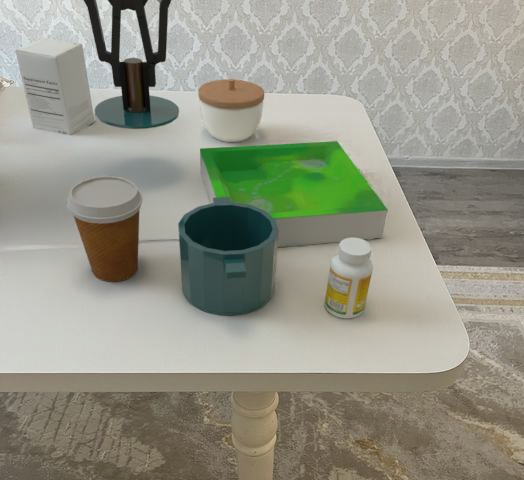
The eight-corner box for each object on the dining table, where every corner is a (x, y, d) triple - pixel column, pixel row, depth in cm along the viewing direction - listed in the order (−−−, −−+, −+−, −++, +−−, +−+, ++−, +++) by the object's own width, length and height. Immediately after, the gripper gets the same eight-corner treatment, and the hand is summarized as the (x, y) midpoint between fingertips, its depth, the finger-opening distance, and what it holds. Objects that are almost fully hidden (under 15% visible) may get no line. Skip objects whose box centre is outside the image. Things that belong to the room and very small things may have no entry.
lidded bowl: (189, 143, 115) (187, 85, 108) (213, 120, 124) (212, 65, 117) (250, 155, 113) (252, 95, 105) (270, 130, 122) (273, 74, 114)
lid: (93, 133, 91) (84, 74, 86) (97, 101, 101) (90, 46, 95) (181, 132, 93) (179, 75, 88) (177, 101, 103) (175, 48, 97)
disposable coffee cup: (120, 297, 79) (108, 217, 71) (65, 275, 82) (48, 196, 74) (163, 263, 85) (156, 186, 77) (110, 243, 88) (99, 167, 80)
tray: (381, 238, 92) (387, 209, 89) (224, 251, 88) (224, 222, 84) (333, 167, 110) (337, 141, 107) (200, 175, 106) (199, 148, 102)
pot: (185, 332, 74) (182, 269, 68) (179, 252, 87) (175, 194, 81) (284, 325, 76) (290, 264, 69) (263, 248, 89) (266, 191, 82)
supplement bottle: (327, 320, 77) (337, 258, 70) (321, 295, 81) (329, 234, 74) (368, 319, 77) (381, 257, 71) (360, 294, 81) (371, 234, 75)
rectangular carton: (58, 114, 123) (43, 36, 113) (95, 122, 121) (84, 42, 111) (31, 130, 117) (13, 48, 107) (71, 138, 115) (56, 56, 105)
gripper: (58, -66, 77) (85, 115, 92) (181, -61, 79) (187, 115, 95) (64, -75, 82) (88, 98, 98) (179, -70, 84) (184, 98, 100)
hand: (136, 106), depth 96 cm, fingers closed on lid, 3 cm apart
